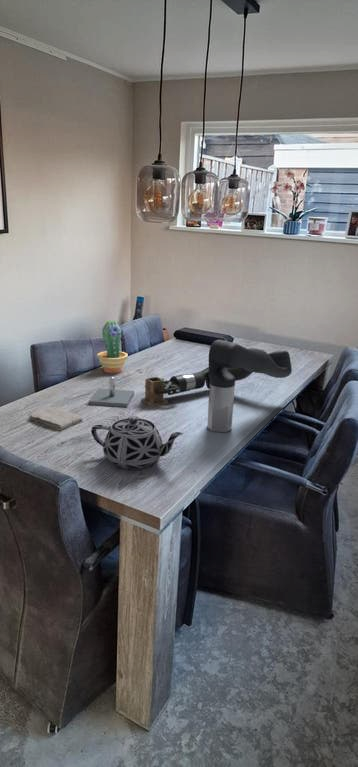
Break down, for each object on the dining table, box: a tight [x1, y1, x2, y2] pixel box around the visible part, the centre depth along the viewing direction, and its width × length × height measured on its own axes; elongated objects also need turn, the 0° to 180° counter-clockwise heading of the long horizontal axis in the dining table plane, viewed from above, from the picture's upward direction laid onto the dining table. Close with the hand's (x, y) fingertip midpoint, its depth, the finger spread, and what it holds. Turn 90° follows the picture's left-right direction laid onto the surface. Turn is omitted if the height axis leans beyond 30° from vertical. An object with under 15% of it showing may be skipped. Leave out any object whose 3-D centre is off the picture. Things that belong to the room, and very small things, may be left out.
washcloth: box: [28, 406, 83, 431], centre depth 194 cm, size 12×18×3 cm, turn 58°
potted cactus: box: [96, 320, 128, 374], centre depth 254 cm, size 15×15×25 cm
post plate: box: [88, 376, 135, 408], centre depth 216 cm, size 16×16×10 cm
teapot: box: [90, 415, 184, 470], centre depth 163 cm, size 19×31×15 cm, turn 75°
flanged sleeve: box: [140, 376, 168, 408], centre depth 215 cm, size 8×8×10 cm
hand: (150, 389), depth 214 cm, fingers open, 8 cm apart
